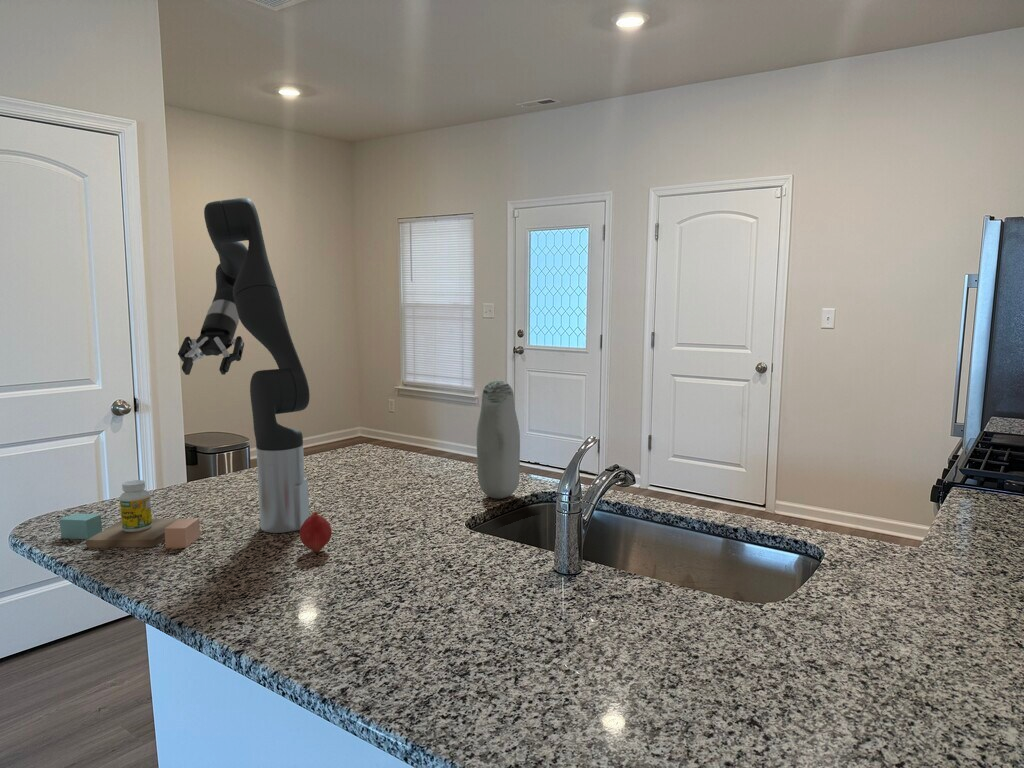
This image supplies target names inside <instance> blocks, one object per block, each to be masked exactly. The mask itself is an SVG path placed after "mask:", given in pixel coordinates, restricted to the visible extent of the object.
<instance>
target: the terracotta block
mask: <svg viewBox="0 0 1024 768" xmlns="http://www.w3.org/2000/svg"><path fill="white" fill-rule="evenodd" d="M200 528H201V527H200V518H185V519H178V520H176V521H175V522H173V523H172V524H170V525H169V526H167V527H166V528H164V531H165V540H164V543H165V548H166V549H177V548H179V549H181V548H186V547H187V548H189V546H190V545H191V543H192V544H193V543H195V542H196V541H197V540H198V539H200V538H201V529H200ZM199 537H200V538H199ZM195 540H196V541H195Z"/></svg>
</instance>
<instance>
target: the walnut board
mask: <svg viewBox="0 0 1024 768" xmlns="http://www.w3.org/2000/svg"><path fill="white" fill-rule="evenodd" d="M178 519H186V518H183V517H181V518H178V517H177V518H152V526H151V527H150V528H149V529H147V530H143V531H139V532H125V531H123V529H122V520H121V519H120V520H119V521H117V522H116V523H114V524H111V525H110V526H109V527H107V528H105V529H102V531H101V532H100V533H98V534H96V535H94V536H93V537H91V538H89V539H85V545H86V546H85V547H86V548H87V549H90V548H93V549H96V548H99V549H100V548H101V549H102V548H104V549H105V548H155V547H156V546H157V545H158V544H159V545H160V543H162V542H163V541H165V531H164V528H166V527H167V526H169V525H170V524H172V523H173V522H175V521H176V520H178Z"/></svg>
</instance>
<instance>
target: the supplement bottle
mask: <svg viewBox="0 0 1024 768" xmlns="http://www.w3.org/2000/svg"><path fill="white" fill-rule="evenodd" d="M121 486H122V491H123V493H121V494H120V495H119V496H120V497H119V505H120V507H119V509H120V516H121V519H120V521H121V520H122V529H123V531H125V532H139V531H143V530H147V529H149V528H150V527H151V526H152V519H153V517H152V506H151V505H152V504H151V493H150V492H149V491H148V490H146V483H145V480H142V479H138V480H134V479H133V480H129V481H126V482H123V483H122V485H121Z"/></svg>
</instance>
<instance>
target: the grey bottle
mask: <svg viewBox="0 0 1024 768" xmlns="http://www.w3.org/2000/svg"><path fill="white" fill-rule="evenodd" d="M514 395H515V394H514V390H513V388H512V386H511V385H510V384H509V383H508V382H505V381H502V380H500V381H499V380H495V381H490V382H488V383H487V384H486V385H485V386H484V387H483V389H482V394H481V406H480V413H479V416H478V417H479V418H478V421H477V427H476V457H477V458H476V461H477V468H476V469H477V480H478V481H477V482H478V485H479V487H480V489H481V491H482V492H483V493H484V494H485V495H486V496H488V497H489V498H492V499H498V500H499V499H500V500H502V499H505V498H509V497H510V496H512V495H513V493H515V491H516V490H517V488H518V486H519V482H520V476H521V475H520V474H521V470H520V469H521V468H520V467H521V466H520V464H521V461H520V460H521V457H520V456H521V434H520V433H521V432H520V426H519V421H518V420H519V419H518V417H517V412H516V405H515V396H514Z"/></svg>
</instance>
